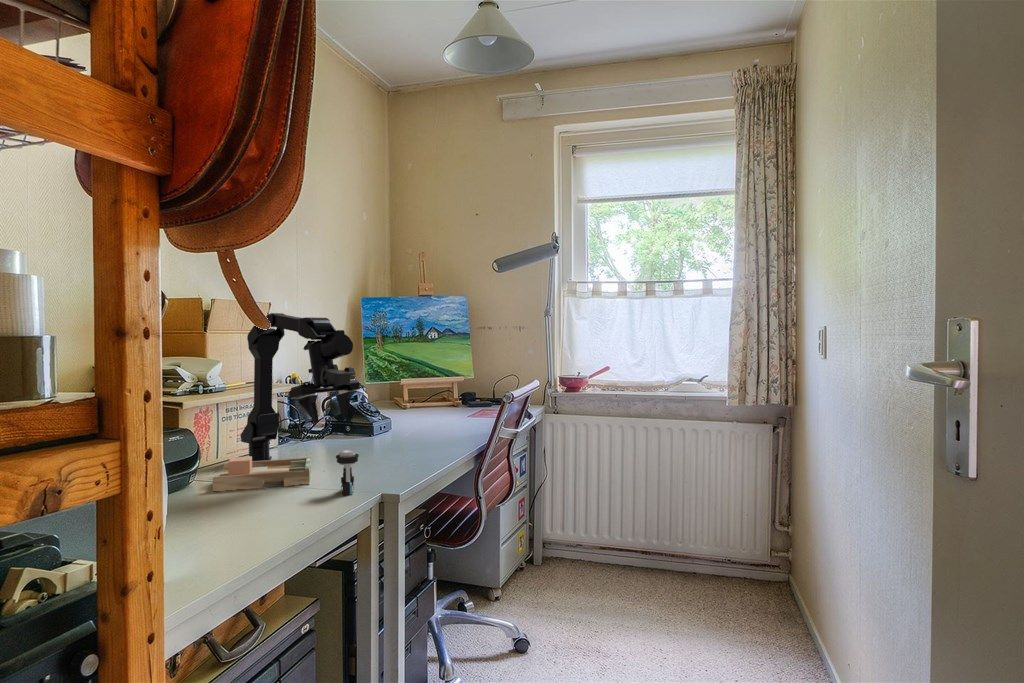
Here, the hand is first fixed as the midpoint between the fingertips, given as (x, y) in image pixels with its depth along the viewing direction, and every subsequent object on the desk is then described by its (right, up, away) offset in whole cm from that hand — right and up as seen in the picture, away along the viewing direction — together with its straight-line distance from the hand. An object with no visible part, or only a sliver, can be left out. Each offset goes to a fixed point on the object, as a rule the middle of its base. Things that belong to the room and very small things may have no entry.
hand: (331, 420), depth 152 cm
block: (-22, -13, -3) cm, 26 cm away
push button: (+8, -16, -13) cm, 22 cm away
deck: (-17, -15, -2) cm, 23 cm away
